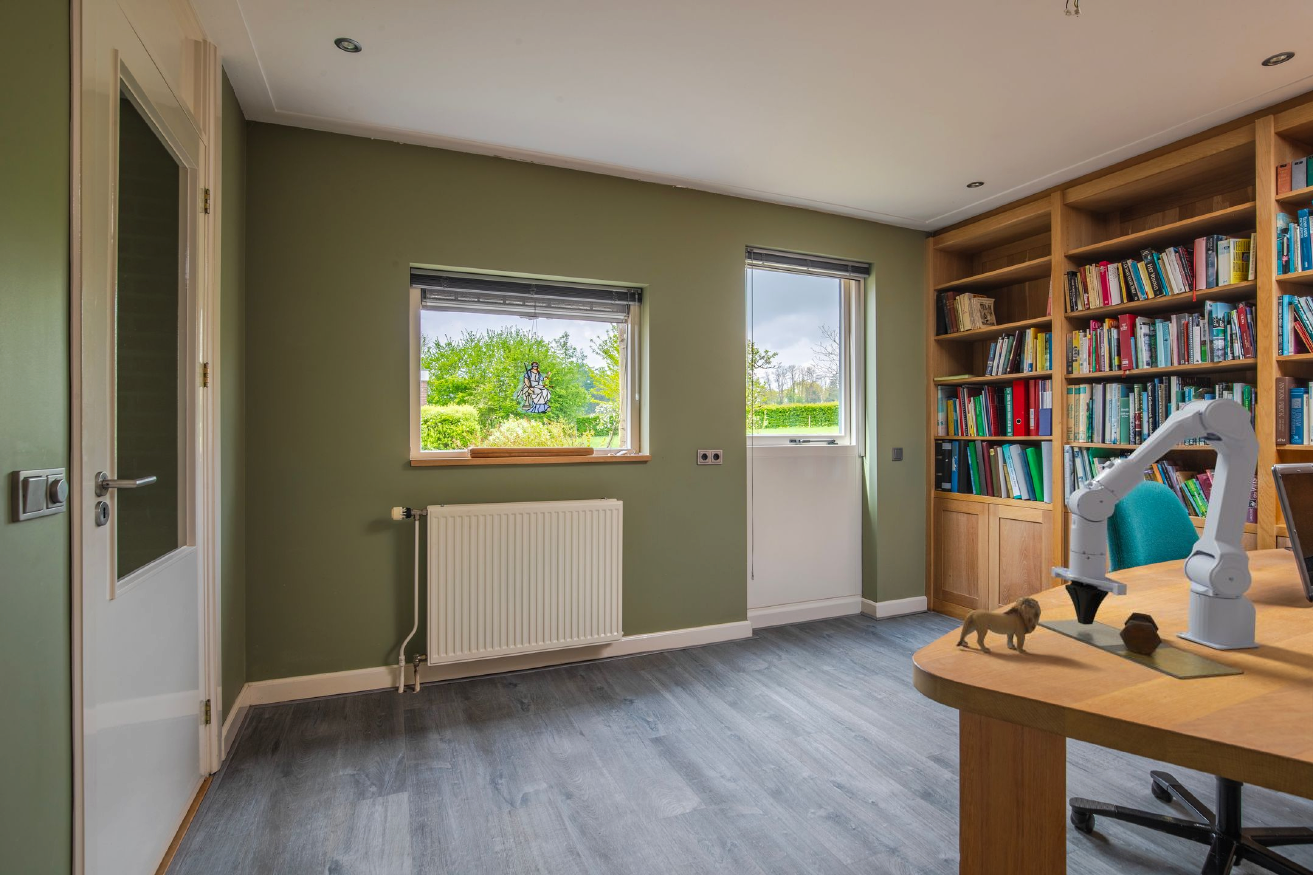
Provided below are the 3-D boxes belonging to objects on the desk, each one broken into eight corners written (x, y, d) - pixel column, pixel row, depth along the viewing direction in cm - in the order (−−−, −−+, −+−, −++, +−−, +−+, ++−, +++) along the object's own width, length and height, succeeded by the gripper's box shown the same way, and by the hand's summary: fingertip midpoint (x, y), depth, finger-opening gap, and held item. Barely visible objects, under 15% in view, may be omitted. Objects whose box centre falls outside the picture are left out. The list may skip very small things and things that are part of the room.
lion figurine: (1027, 643, 115) (1029, 593, 115) (1048, 654, 110) (1049, 601, 110) (948, 644, 114) (949, 593, 114) (965, 655, 109) (966, 601, 108)
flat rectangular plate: (1089, 620, 130) (1089, 618, 130) (1243, 673, 103) (1243, 671, 103) (1034, 623, 127) (1034, 621, 127) (1178, 678, 100) (1178, 676, 100)
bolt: (1145, 642, 121) (1144, 661, 110) (1117, 624, 124) (1113, 641, 112) (1166, 618, 120) (1167, 635, 108) (1137, 600, 122) (1135, 615, 111)
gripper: (1039, 545, 129) (1037, 613, 130) (1105, 560, 115) (1102, 636, 115) (1068, 544, 131) (1066, 611, 131) (1137, 559, 117) (1134, 634, 117)
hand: (1085, 623), depth 123 cm, fingers closed
